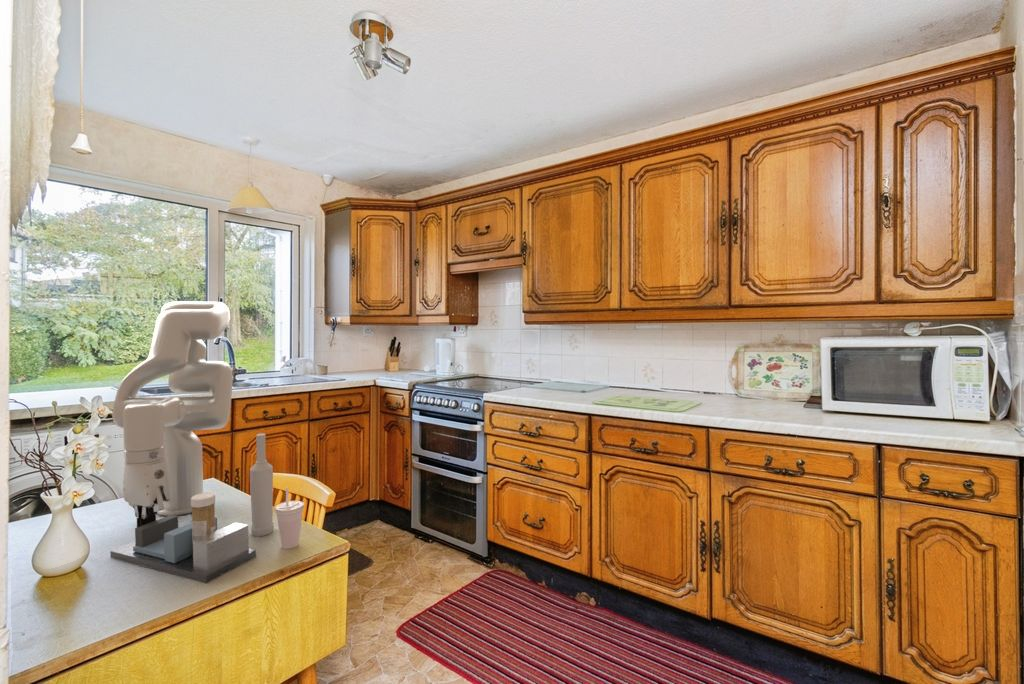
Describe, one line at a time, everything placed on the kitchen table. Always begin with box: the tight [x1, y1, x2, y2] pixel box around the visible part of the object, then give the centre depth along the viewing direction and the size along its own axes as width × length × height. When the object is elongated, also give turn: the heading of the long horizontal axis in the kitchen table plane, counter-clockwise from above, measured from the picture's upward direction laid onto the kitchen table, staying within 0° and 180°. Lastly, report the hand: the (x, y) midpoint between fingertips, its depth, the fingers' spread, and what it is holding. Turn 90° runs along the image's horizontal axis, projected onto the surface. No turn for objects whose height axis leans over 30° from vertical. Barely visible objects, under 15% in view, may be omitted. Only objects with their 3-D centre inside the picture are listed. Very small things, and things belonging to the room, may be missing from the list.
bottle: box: [249, 433, 275, 537], centre depth 121 cm, size 5×5×25 cm
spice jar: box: [191, 492, 216, 541], centre depth 106 cm, size 5×5×14 cm
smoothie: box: [274, 487, 305, 550], centre depth 114 cm, size 6×6×14 cm
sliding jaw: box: [133, 515, 218, 563], centre depth 109 cm, size 14×10×6 cm
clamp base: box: [109, 522, 257, 584], centre depth 108 cm, size 30×12×8 cm, turn 70°
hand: (146, 532), depth 112 cm, fingers closed
